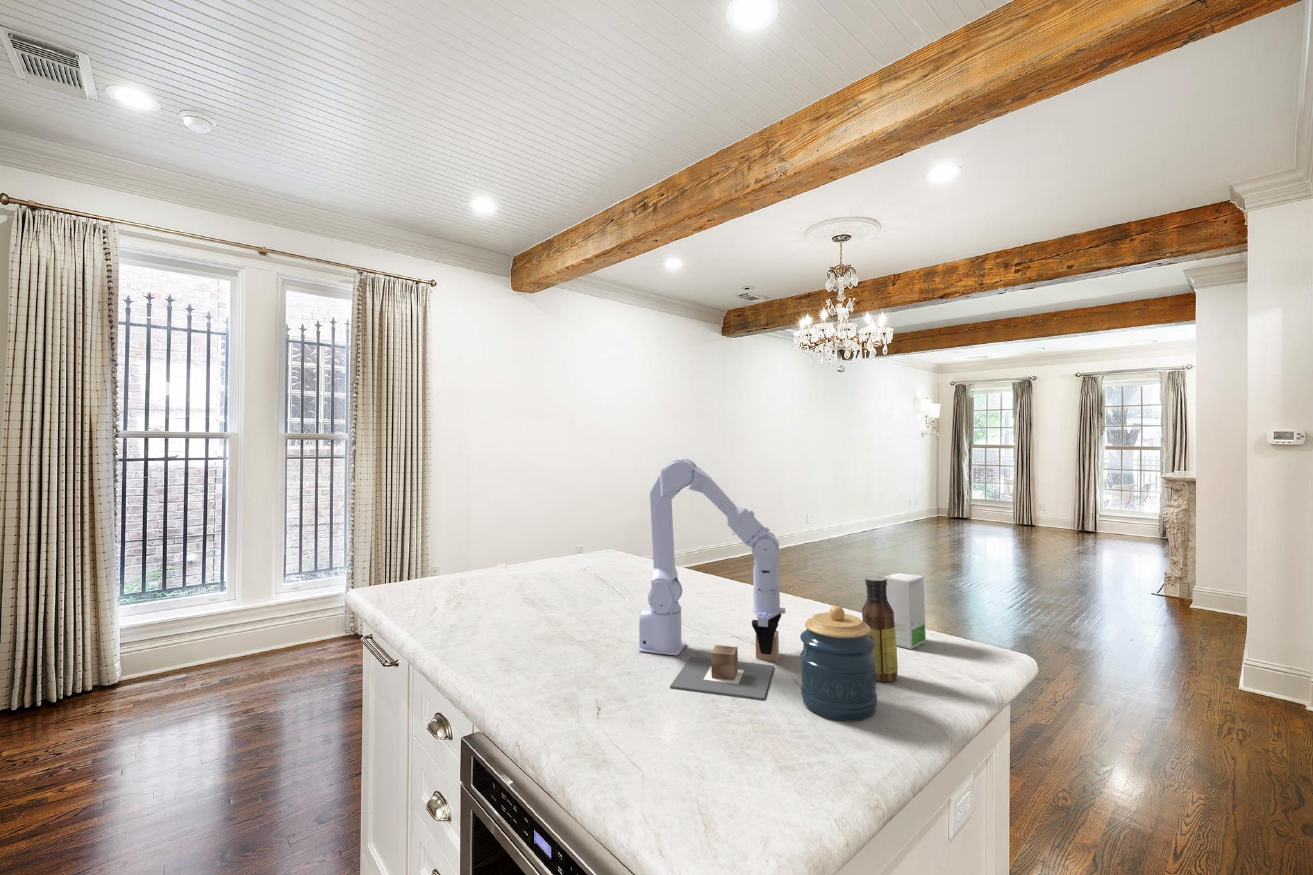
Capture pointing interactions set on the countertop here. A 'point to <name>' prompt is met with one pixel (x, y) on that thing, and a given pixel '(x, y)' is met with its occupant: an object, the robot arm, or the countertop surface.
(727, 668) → the walnut block
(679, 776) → the countertop surface
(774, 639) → the terracotta block
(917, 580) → the skincare box
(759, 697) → the grey mat
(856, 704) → the canister
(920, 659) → the countertop surface
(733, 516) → the robot arm
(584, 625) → the countertop surface
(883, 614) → the sauce bottle
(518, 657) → the countertop surface
